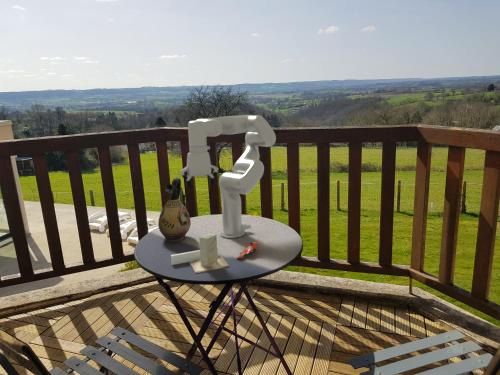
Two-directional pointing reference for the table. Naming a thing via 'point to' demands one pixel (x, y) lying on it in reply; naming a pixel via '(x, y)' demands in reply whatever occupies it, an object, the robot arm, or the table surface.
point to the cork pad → (201, 268)
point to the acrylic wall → (186, 257)
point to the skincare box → (208, 249)
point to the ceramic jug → (174, 215)
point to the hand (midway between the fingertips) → (200, 187)
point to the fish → (249, 248)
